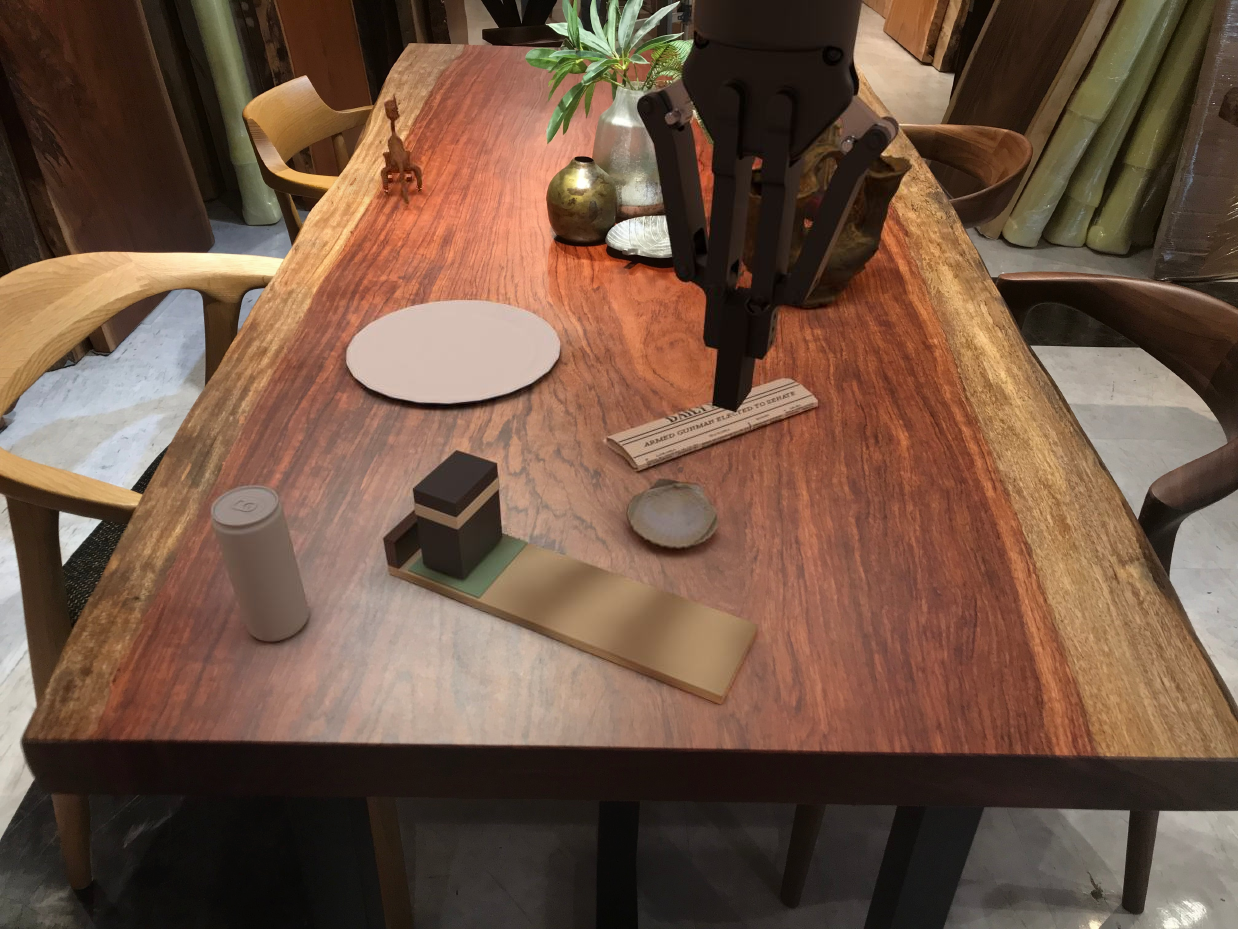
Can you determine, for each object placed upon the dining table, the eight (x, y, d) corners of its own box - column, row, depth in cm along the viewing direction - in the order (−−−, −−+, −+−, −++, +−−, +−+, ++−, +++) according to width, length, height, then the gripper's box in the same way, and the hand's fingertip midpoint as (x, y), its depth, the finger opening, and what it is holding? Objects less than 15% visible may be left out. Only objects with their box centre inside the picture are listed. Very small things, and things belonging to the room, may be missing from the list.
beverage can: (286, 652, 68) (251, 532, 61) (233, 636, 69) (193, 517, 62) (322, 609, 72) (294, 492, 65) (271, 595, 73) (238, 478, 66)
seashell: (624, 558, 80) (709, 563, 77) (615, 534, 78) (702, 539, 75) (649, 493, 86) (730, 496, 83) (642, 470, 84) (724, 472, 81)
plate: (495, 291, 120) (495, 282, 119) (602, 369, 104) (602, 359, 103) (314, 339, 108) (312, 330, 107) (402, 436, 92) (401, 426, 91)
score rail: (757, 633, 71) (763, 596, 69) (721, 705, 65) (726, 668, 63) (444, 520, 81) (440, 485, 79) (388, 573, 75) (382, 537, 73)
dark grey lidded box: (503, 537, 77) (498, 462, 73) (463, 580, 73) (455, 504, 68) (463, 523, 79) (456, 448, 74) (422, 564, 74) (411, 488, 69)
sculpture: (856, 216, 146) (873, 121, 137) (818, 225, 142) (833, 128, 133) (817, 197, 152) (831, 106, 144) (779, 205, 149) (791, 112, 140)
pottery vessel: (852, 262, 131) (879, 121, 119) (904, 291, 123) (937, 144, 111) (708, 293, 121) (722, 144, 109) (755, 327, 113) (775, 170, 102)
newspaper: (637, 475, 88) (638, 461, 87) (600, 440, 93) (600, 426, 92) (816, 410, 98) (819, 396, 97) (774, 381, 103) (776, 368, 102)
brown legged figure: (428, 209, 144) (419, 122, 136) (387, 213, 142) (375, 124, 134) (417, 174, 158) (408, 92, 150) (379, 176, 156) (368, 94, 148)
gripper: (950, -57, 40) (855, 396, 54) (680, -77, 44) (657, 346, 58) (917, -38, 34) (821, 461, 48) (613, -63, 39) (605, 400, 53)
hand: (731, 397), depth 53 cm, fingers closed
